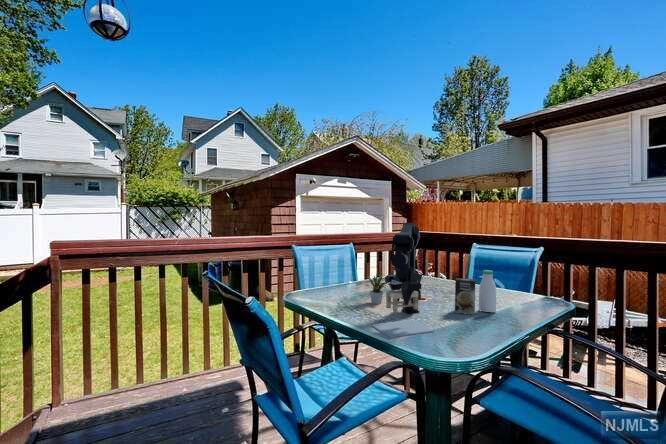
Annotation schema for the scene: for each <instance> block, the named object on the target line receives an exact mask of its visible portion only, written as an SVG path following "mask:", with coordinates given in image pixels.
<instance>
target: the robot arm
mask: <svg viewBox="0 0 666 444" xmlns="http://www.w3.org/2000/svg"><path fill="white" fill-rule="evenodd" d="M420 234H421V233H420V229H419V227H417V226H416V224H415V223H413V222H404V223H402V227H401V228H400V232H396V233H395V234H394V236H392V243H391V247H390V248H391V249H390V251H391V252H394V254H393V255H392V256H391V259H390V263H391V265H392V266H393V267H392V268H393V270H395V272H394V274H386V276H385V277H384V283H385V282H387V284H388V285H387V286H388V287H389V288H390V289H391V290H401V291H402V295H403V298H398V301H401V300H402V301H404V303H403V304H405V305H408V303H409V300H410V297H411V295H412V293H413V292H414V291H417V292H418V302H419V301H421V299H422V293H421V290H422V285H423V284H422V283H421V282H422V278H423V274H420V273H417V272H416V254H415V253H416V247H417V246H418V243H419V240H420V238H421V235H420ZM400 299H401V300H400ZM403 304H402V305H403ZM411 304H413V297H411ZM401 311H402V312H404V313H407V314H417V313H420V310H419V308H418V309H416V310H415V309H413V306H410V307H402V308H401Z"/></svg>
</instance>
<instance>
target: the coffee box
mask: <svg viewBox="0 0 666 444" xmlns="http://www.w3.org/2000/svg"><path fill="white" fill-rule="evenodd" d="M454 281H455V285H454V286H455V290H454V291H455V292H454V313H455V314H460V313H466V314H465V315H469V314H476V279H475V278H474V279H473V278H460V277H455V280H454Z"/></svg>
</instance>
